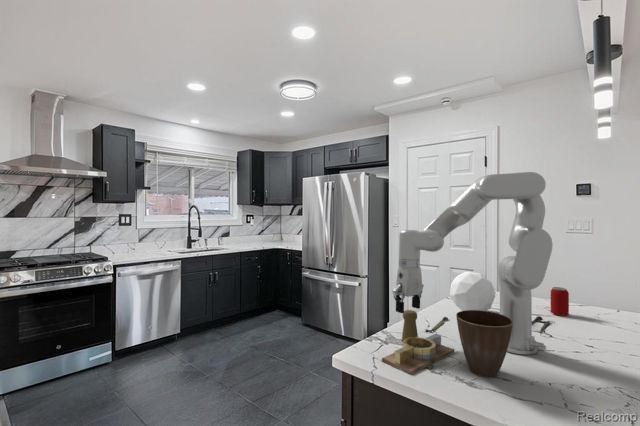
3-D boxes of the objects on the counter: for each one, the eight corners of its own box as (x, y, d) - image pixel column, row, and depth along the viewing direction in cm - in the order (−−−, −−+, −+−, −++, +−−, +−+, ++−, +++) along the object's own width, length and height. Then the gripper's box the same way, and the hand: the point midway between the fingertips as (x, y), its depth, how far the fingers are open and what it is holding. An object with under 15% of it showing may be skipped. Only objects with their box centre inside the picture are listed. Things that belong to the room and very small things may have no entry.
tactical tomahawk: (441, 338, 125) (441, 335, 125) (424, 332, 130) (425, 330, 129) (458, 323, 141) (459, 320, 141) (443, 318, 146) (443, 316, 146)
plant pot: (525, 380, 92) (525, 323, 92) (482, 388, 87) (482, 328, 87) (485, 357, 106) (484, 308, 106) (445, 363, 102) (445, 312, 102)
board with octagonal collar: (425, 342, 119) (425, 339, 119) (454, 352, 110) (454, 349, 110) (381, 361, 104) (381, 358, 104) (411, 374, 95) (411, 371, 95)
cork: (409, 345, 116) (409, 314, 116) (398, 339, 122) (398, 309, 122) (422, 342, 119) (422, 311, 119) (410, 336, 124) (410, 307, 124)
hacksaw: (537, 318, 146) (537, 315, 146) (565, 324, 138) (565, 320, 138) (519, 331, 130) (519, 328, 130) (550, 339, 122) (550, 335, 122)
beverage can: (568, 313, 152) (567, 287, 152) (569, 317, 146) (569, 290, 146) (550, 311, 155) (550, 286, 155) (551, 315, 149) (550, 288, 149)
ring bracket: (425, 340, 118) (425, 330, 118) (451, 349, 110) (451, 338, 110) (384, 358, 104) (384, 347, 104) (411, 369, 96) (411, 357, 96)
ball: (462, 328, 152) (435, 293, 155) (474, 304, 166) (448, 272, 169) (499, 317, 139) (469, 278, 141) (508, 292, 153) (480, 257, 156)
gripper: (403, 267, 112) (401, 317, 112) (431, 263, 123) (430, 308, 123) (385, 264, 118) (384, 311, 118) (414, 260, 129) (413, 303, 129)
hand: (408, 310), depth 120 cm, fingers open, 9 cm apart
